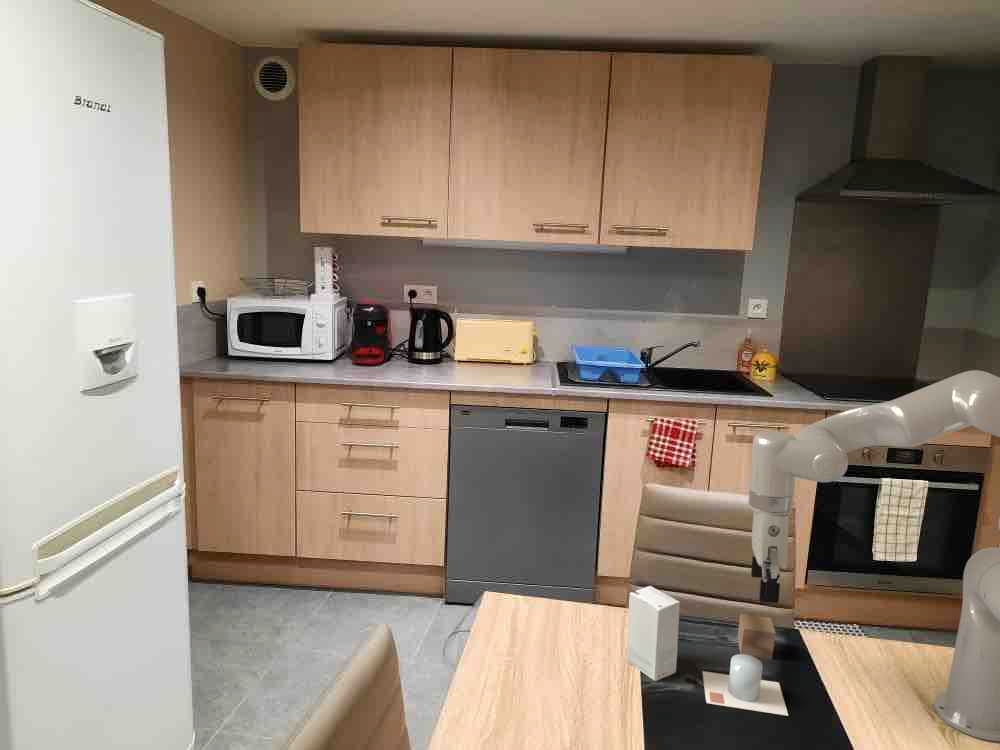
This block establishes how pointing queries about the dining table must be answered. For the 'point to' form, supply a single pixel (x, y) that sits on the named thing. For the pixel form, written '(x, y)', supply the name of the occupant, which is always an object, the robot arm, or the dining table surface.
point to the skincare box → (653, 632)
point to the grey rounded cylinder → (745, 677)
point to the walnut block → (756, 636)
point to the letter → (766, 702)
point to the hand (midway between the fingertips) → (764, 588)
